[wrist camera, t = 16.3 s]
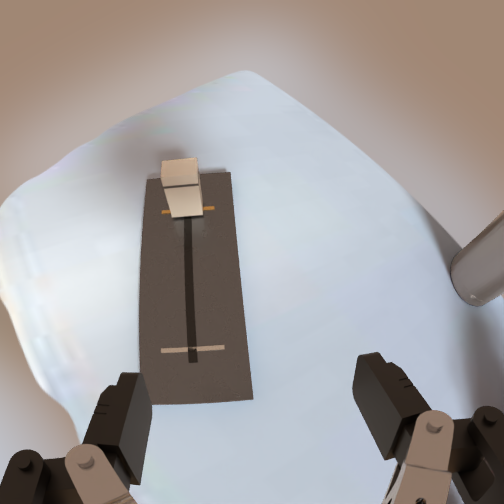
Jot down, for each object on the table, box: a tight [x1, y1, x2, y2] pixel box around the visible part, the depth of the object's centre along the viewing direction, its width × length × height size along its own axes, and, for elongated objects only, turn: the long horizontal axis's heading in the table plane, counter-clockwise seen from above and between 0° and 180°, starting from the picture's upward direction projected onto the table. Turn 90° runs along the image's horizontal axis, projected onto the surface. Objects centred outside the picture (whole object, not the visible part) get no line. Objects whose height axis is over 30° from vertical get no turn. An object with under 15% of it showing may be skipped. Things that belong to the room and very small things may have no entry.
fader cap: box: [161, 158, 203, 217], centre depth 38 cm, size 2×4×8 cm, turn 96°
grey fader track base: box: [139, 172, 253, 405], centre depth 39 cm, size 30×12×2 cm, turn 6°
